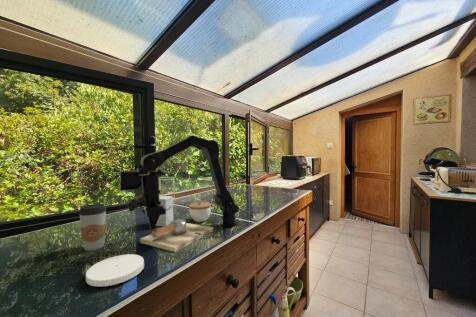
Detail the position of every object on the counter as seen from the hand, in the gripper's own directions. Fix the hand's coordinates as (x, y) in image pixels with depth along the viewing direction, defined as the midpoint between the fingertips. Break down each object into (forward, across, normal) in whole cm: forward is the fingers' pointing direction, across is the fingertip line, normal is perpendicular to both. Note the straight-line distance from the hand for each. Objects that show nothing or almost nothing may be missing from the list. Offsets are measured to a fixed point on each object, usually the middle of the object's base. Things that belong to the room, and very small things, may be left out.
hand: (152, 229), depth 81 cm
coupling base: (+5, 0, +10) cm, 11 cm away
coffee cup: (+5, -8, -18) cm, 21 cm away
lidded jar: (+5, -15, +26) cm, 30 cm away
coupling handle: (+3, +2, +6) cm, 7 cm away
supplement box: (+5, -21, +9) cm, 23 cm away
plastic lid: (+6, +17, -13) cm, 22 cm away
